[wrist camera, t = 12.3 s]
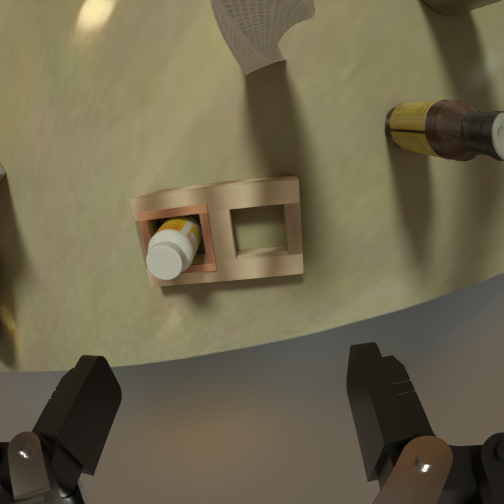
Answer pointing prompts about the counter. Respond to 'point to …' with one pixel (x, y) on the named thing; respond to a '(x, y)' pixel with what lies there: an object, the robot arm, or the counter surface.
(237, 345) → the counter surface
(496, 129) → the sauce bottle
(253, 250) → the cup caddy
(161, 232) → the supplement bottle
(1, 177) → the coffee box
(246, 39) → the skyscraper
